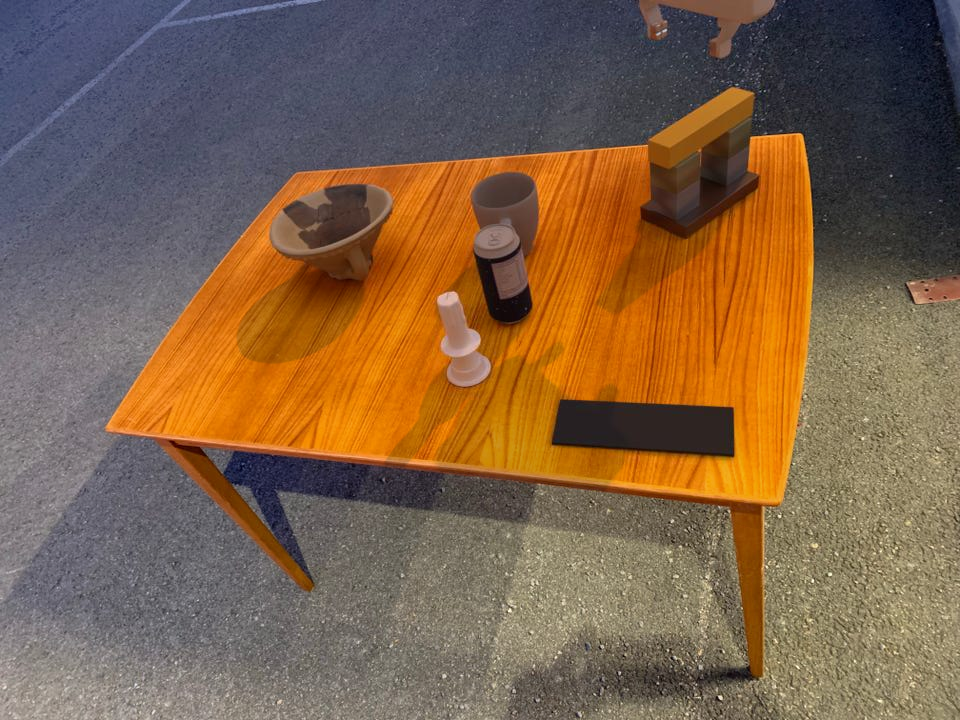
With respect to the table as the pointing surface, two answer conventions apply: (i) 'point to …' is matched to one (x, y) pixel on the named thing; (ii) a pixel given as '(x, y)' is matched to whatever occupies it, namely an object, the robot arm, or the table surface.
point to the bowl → (333, 228)
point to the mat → (645, 427)
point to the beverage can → (503, 273)
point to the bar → (700, 127)
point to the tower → (701, 184)
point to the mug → (508, 205)
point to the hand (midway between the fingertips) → (687, 46)
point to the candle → (461, 344)
